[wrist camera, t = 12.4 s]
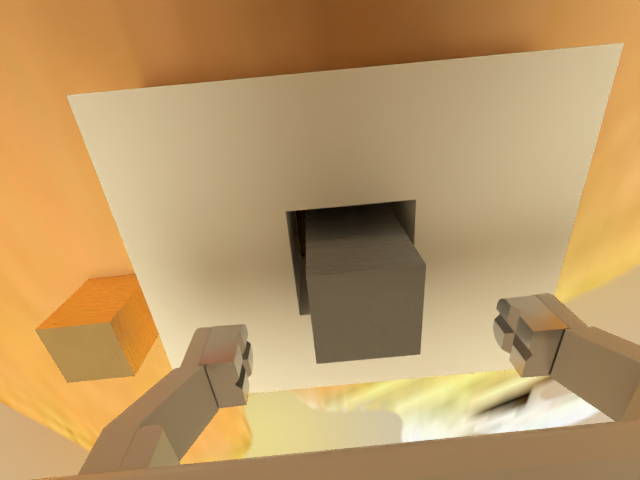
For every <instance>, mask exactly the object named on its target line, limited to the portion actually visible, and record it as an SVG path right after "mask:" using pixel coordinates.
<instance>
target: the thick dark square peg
mask: <svg viewBox="0 0 640 480" xmlns="http://www.w3.org/2000/svg"><path fill="white" fill-rule="evenodd" d="M425 276H426V264H425V262H424V261H423V259H422V258H421V256H420V254H419V253H418V251H417V250H416V248H415V246H414V245H413V243H412V242H411V240H410V238H409V237H408V235H407V234H406V232H405V230H404V229H403V227H402V226H401V224H400V223H399V221H398V219H397V218H396V216H395V215H394V213H393V211H392V210H391V208H390V207H389V205H388V203H387V202H383V203H373V204H362V205H351V206H340V207H330V208H319V209H308V210H306V282H307V290H308V298H309V306H310V315H311V323H312V331H313V339H314V348H315V356H316V364H322V363H333V362H344V361H355V360H366V359H377V358H388V357H399V356H410V355H420V351H421V336H422V321H423V306H424V291H425Z"/></svg>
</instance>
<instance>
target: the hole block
mask: <svg viewBox="0 0 640 480" xmlns="http://www.w3.org/2000/svg"><path fill="white" fill-rule="evenodd" d="M623 45H624V43H616V44H606V45H595V46H584V47H574V48H563V49H552V50H542V51H531V52H521V53H510V54H499V55H489V56H478V57H467V58H457V59H446V60H435V61H425V62H414V63H403V64H393V65H382V66H372V67H361V68H350V69H340V70H329V71H318V72H308V73H297V74H286V75H276V76H265V77H255V78H244V79H233V80H223V81H212V82H201V83H191V84H180V85H169V86H159V87H148V88H137V89H127V90H116V91H106V92H95V93H84V94H74V95H66V96H67V98H68V101H69V104H70V106H71V109H72V111H73V114H74V116H75V119H76V122H77V124H78V127H79V129H80V132H81V134H82V137H83V140H84V142H85V145H86V147H87V150H88V153H89V155H90V158H91V160H92V163H93V165H94V168H95V171H96V173H97V176H98V178H99V181H100V183H101V186H102V189H103V191H104V194H105V196H106V199H107V201H108V204H109V207H110V209H111V212H112V214H113V217H114V220H115V222H116V225H117V227H118V230H119V232H120V235H121V238H122V240H123V243H124V245H125V248H126V250H127V253H128V256H129V258H130V261H131V263H132V266H133V269H134V271H135V274H136V276H137V279H138V281H139V284H140V287H141V289H142V292H143V294H144V297H145V299H146V302H147V305H148V307H149V310H150V312H151V315H152V318H153V320H154V323H155V325H156V328H157V330H158V333H159V336H160V338H161V341H162V343H163V346H164V348H165V351H166V354H167V356H168V359H169V361H170V364H171V366H172V369H175V368H180V366H181V363H182V361H183V359H184V356H185V354H186V351H187V349H188V347H189V344H190V342H191V339H192V337H193V334H194V332H195V330H196V329H198V328H202V327H214V326H224V325H238V324H245V325H246V327H247V331H248V337H247V341H248V342H249V343H250V344H251V347H252V352H253V369H252V374H251V375H250V376H249V377H248V381H249V385H250V387H249V393H258V392H269V391H280V390H291V389H302V388H313V387H324V386H335V385H346V384H357V383H368V382H379V381H390V380H401V379H412V378H423V377H434V376H445V375H456V374H467V373H478V372H489V371H500V370H511V369H515V368H514V366H513V365H512V364H511V362H510V361H509V358H510V354H509V353H507V352H506V351H504V350H502V349H501V348H500V346H499V345H498V343H497V341H496V339H495V337H494V332H493V324H494V319H495V318H496V317H497V316H498V315H499V314H500V313H499V312H498V310H497V309H496V307H497V303H498V301H499V300H500V299H501V298H510V297H520V296H529V295H535V294H543V293H550V294H552V295H554V294H555V290H556V287H557V283H558V280H559V276H560V272H561V269H562V265H563V261H564V258H565V254H566V251H567V247H568V243H569V240H570V236H571V233H572V229H573V225H574V222H575V218H576V215H577V211H578V207H579V204H580V200H581V197H582V193H583V189H584V186H585V182H586V178H587V175H588V171H589V168H590V164H591V160H592V157H593V153H594V150H595V146H596V142H597V139H598V135H599V132H600V128H601V124H602V121H603V117H604V114H605V110H606V106H607V103H608V99H609V95H610V92H611V88H612V85H613V81H614V77H615V74H616V70H617V67H618V63H619V59H620V56H621V52H622V49H623ZM383 202H387V203H388V205H389V207H390V208H391V210H392V211H393V213H394V215H395V216H396V218H397V219H398V221H399V223H400V224H401V226H402V227H403V229H404V230H405V232H406V234H407V235H408V237H409V238H410V240H411V242H412V243H413V245H414V246H415V248H416V250H417V251H418V253H419V254H420V256H421V258H422V259H423V261H424V262H425V264H426V276H425V291H424V306H423V321H422V336H421V351H420V355H410V356H399V357H388V358H377V359H366V360H355V361H344V362H333V363H322V364H316V356H315V348H314V339H313V331H312V323H311V315H310V306H309V298H308V290H307V282H306V257H301V251H300V243H299V235H298V227H297V219H296V211H297V210H308V209H319V208H330V207H340V206H351V205H362V204H373V203H383Z"/></svg>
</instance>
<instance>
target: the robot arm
mask: <svg viewBox="0 0 640 480" xmlns="http://www.w3.org/2000/svg"><path fill="white" fill-rule="evenodd" d="M496 309H497V310H498V312H499V313H500V314H499V315H498V316H497V317H496V318H495V319H494V324H493V332H494V337H495V339H496V341H497V343H498V345H499V346H500V348H501V349H502V350H504V351H506V352H507V353H509V354H510V358H509V361H510V362H511V364H512V365H513V366H514V368H515V369H516V371H517V372H518V373H519V375H520V376H521V377H534V376H548V375H550V377H551V378H553V379H554V380H555V381H557V382H558V383H560V384H562V385H563V386H564V387H566V388H567V389H569V390H571V391H572V392H573V393H575V394H576V395H578V396H579V397H581V398H582V399H583V400H585V401H586V402H588V403H589V404H591V405H592V406H594V407H595V408H597V409H598V410H600V411H601V412H603V413H604V414H606V415H607V416H609V417H610V418H612V419H613V420H614V421H616V422H606V423H596V424H586V425H576V426H566V427H556V428H546V429H536V430H526V431H516V432H506V433H496V434H486V435H476V436H466V437H456V438H445V439H435V440H425V441H415V442H405V443H396V444H385V445H375V446H366V447H355V448H344V449H335V450H324V451H316V452H315V451H314V452H304V453H294V454H285V455H274V456H264V457H254V458H244V459H234V460H224V461H214V462H204V463H194V464H184V465H180V463H179V461H180V460H181V459H182V457H183V456H184V455H185V453H186V452H187V451H188V449H189V448H190V447H191V446H192V444H193V443H194V442H195V440H196V439H197V438H198V436H199V435H200V434H201V432H202V431H203V430H204V429H205V427H206V426H207V425H208V423H209V422H210V421H211V419H212V418H213V417H214V415H215V414H216V413H217V412H218V410H219V409H218V408H225V407H233V406H241V405H246V404H247V399H248V393H249V387H250V385H249V381H248V377H249V376H250V375H251V374H252V369H253V352H252V347H251V344H250V343H249V342H248V341H247V337H248V331H247V327H246V325H245V324H238V325H224V326H214V327H202V328H198V329H196V330H195V332H194V334H193V337H192V339H191V342H190V344H189V347H188V349H187V351H186V354H185V356H184V359H183V361H182V363H181V366H180V368H175V369H173V370H172V371H171V372H170V373H169V374H168V375H166V376H165V377H164V378H163V379H162V380H160V381H159V382H158V383H157V384H156V385H154V386H153V387H152V388H151V389H150V390H149V391H147V392H146V393H145V394H144V395H143V396H141V397H140V398H139V399H138V400H137V401H136V402H134V403H133V404H132V405H131V406H130V407H128V408H127V409H126V410H125V411H124V412H122V413H121V414H120V415H119V416H118V417H117V418H115V419H114V420H113V421H112V422H111V423H109V424H108V425H107V426H106V427H105V428H104V429H103V430H102V432H101V434H100V436H99V437H98V439H97V441H96V443H95V445H94V446H93V448H92V450H91V452H90V454H89V456H88V458H87V459H86V461H85V463H84V464H83V466H82V468H81V470H80V472H79V474H78V475H73V476H63V477H53V478H44V479H34V480H640V345H637V344H635V343H632V342H630V341H628V340H625V339H623V338H620V337H618V336H615V335H613V334H611V333H608V332H606V331H603V330H601V329H598V328H596V327H588V326H587V325H586V324H585V323H583V322H582V321H581V320H580V319H579V318H578V317H577V316H576V315H575V314H574V313H573V312H571V311H570V310H569V309H568V308H567V307H566V306H565V305H564V304H563V303H561V302H560V301H559V300H558V299H557V298H556V297H555V296H554V295H552V294H550V293H543V294H535V295H529V296H520V297H510V298H501V299H500V300H499V301H498V303H497V307H496Z"/></svg>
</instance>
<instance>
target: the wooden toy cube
mask: <svg viewBox="0 0 640 480" xmlns="http://www.w3.org/2000/svg"><path fill="white" fill-rule="evenodd" d="M36 332H37V334H38V335H39V337H40V338H41V340H42V342H43V343H44V345H45V347H46V348H47V350H48V352H49V353H50V355H51V356H52V358H53V360H54V361H55V363H56V365H57V366H58V368H59V370H60V371H61V373H62V374H63V376H64V378H65V379H66V381H67V383H68V382H78V381H88V380H98V379H108V378H118V377H128V376H135V375H136V373H137V371H138V369H139V368H140V366H141V364H142V362H143V361H144V359H145V357H146V355H147V354H148V352H149V350H150V348H151V347H152V345H153V343H154V341H155V340H156V338H157V336H158V334H159V333H158V330H157V328H156V325H155V323H154V320H153V318H152V315H151V312H150V310H149V307H148V305H147V302H146V299H145V297H144V294H143V292H142V289H141V287H140V284H139V281H138V279H137V276H136V274H134V275H125V276H115V277H105V278H96V279H89V280H88V281H87V282H86V283H84V284H83V285H82V286H81V287H80V288H79V289H78V290H77V291H76V292H75V293H74V294H73V295H72V296H71V297H70V298H69V299H68V300H66V301H65V302H64V303H63V304H62V305H61V306H60V307H59V308H58V309H57V310H56V311H55V312H54V313H53V314H52V315H51V316H49V317H48V318H47V319H46V320H45V321H44V322H43V323H42V324H41V325H40V326H39V327H38V328H37V329H36Z"/></svg>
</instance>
